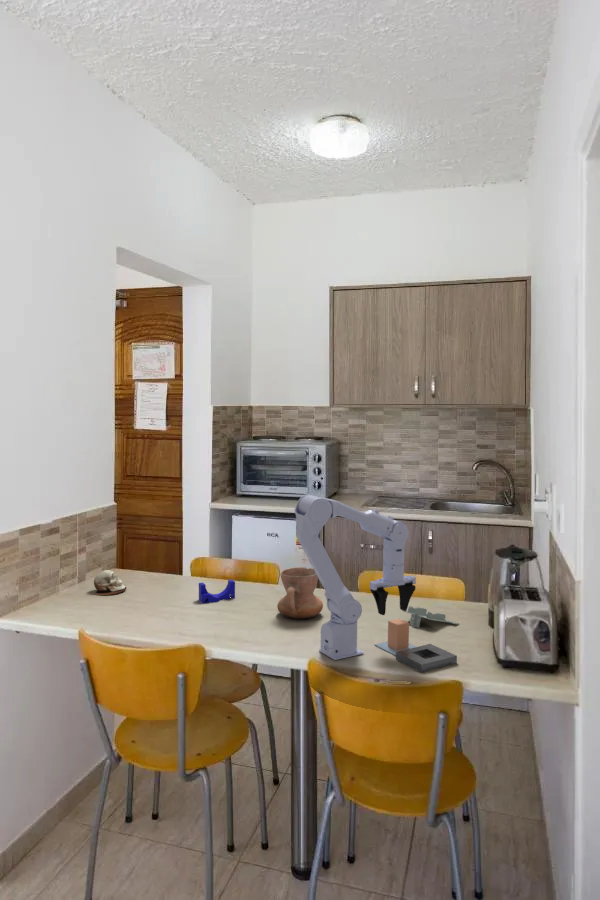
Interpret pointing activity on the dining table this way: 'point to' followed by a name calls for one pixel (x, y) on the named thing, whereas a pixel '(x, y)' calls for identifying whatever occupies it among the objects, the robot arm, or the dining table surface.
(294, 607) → the ceramic jug
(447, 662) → the socket plate
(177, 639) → the dining table surface
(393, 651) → the rubber mat
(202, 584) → the blue curved cradle
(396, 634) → the square peg
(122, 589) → the skull
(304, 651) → the dining table surface
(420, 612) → the metal bracket
